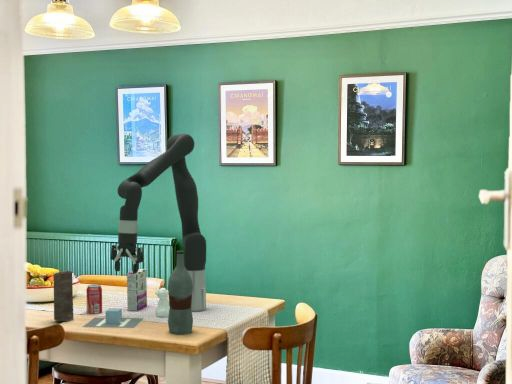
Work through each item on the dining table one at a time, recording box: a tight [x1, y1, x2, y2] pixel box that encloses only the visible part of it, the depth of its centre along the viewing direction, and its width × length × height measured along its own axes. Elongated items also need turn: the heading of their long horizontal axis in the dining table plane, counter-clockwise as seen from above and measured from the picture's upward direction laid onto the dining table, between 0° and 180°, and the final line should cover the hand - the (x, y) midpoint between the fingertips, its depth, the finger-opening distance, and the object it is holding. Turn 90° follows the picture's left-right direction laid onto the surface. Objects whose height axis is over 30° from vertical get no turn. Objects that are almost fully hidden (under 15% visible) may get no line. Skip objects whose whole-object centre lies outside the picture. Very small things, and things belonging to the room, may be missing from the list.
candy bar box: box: [126, 268, 148, 312], centre depth 285 cm, size 11×5×16 cm, turn 168°
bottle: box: [167, 250, 194, 335], centre depth 244 cm, size 9×9×30 cm
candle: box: [52, 270, 74, 322], centre depth 261 cm, size 8×7×20 cm
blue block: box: [105, 307, 123, 324], centre depth 257 cm, size 5×5×5 cm
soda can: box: [86, 284, 103, 315], centre depth 274 cm, size 6×6×12 cm
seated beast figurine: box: [154, 287, 170, 318], centre depth 269 cm, size 10×9×12 cm
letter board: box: [82, 317, 145, 329], centre depth 257 cm, size 20×16×1 cm
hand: (126, 272), depth 264 cm, fingers open, 8 cm apart
